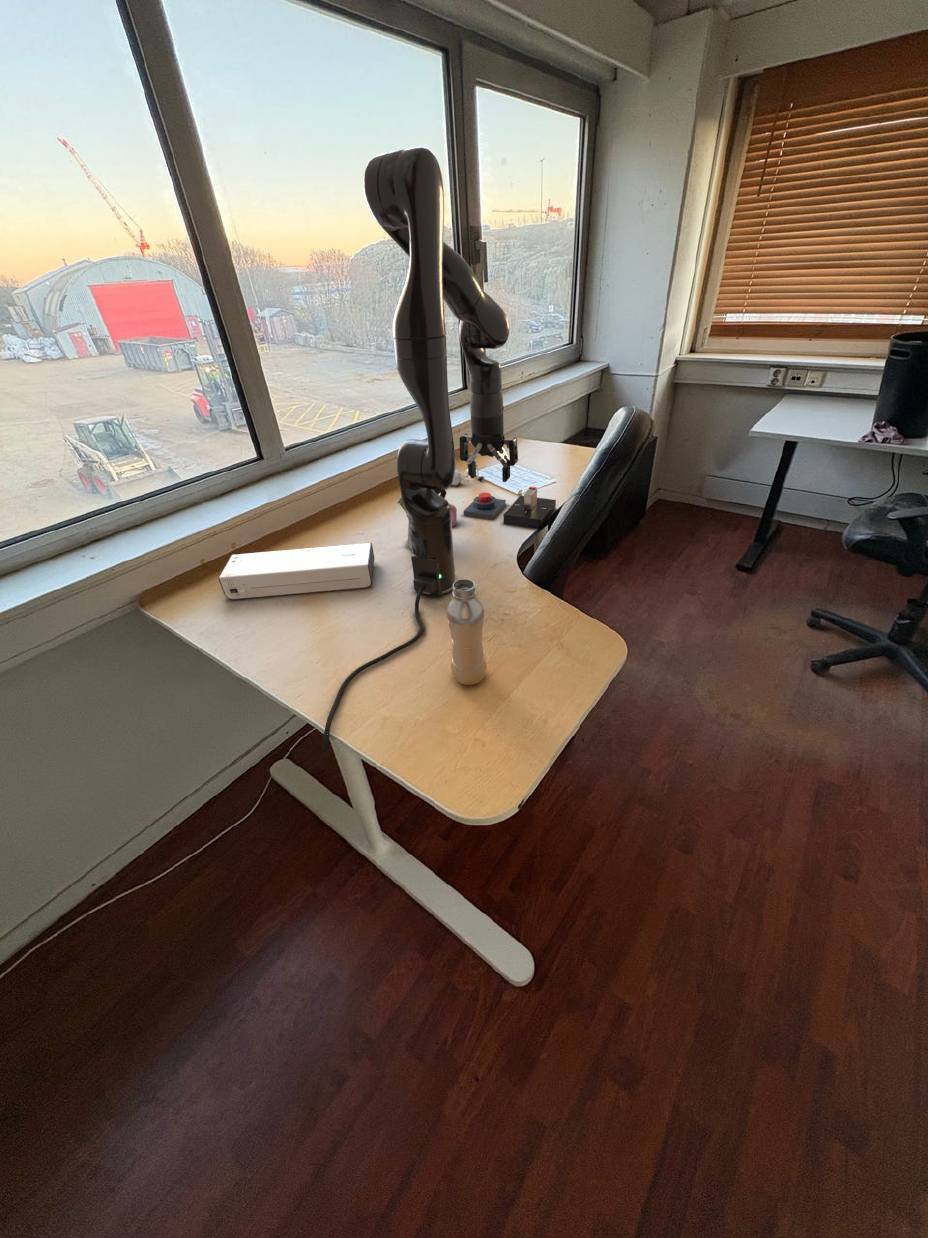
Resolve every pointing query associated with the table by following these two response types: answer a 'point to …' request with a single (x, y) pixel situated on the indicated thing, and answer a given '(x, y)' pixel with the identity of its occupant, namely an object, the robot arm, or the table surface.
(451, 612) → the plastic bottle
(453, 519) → the video game controller
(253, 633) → the table surface
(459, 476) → the clip-on lamp
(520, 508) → the hob panel
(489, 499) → the button
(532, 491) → the beige rectangular block
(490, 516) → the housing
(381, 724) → the table surface
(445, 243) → the robot arm
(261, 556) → the laminator
